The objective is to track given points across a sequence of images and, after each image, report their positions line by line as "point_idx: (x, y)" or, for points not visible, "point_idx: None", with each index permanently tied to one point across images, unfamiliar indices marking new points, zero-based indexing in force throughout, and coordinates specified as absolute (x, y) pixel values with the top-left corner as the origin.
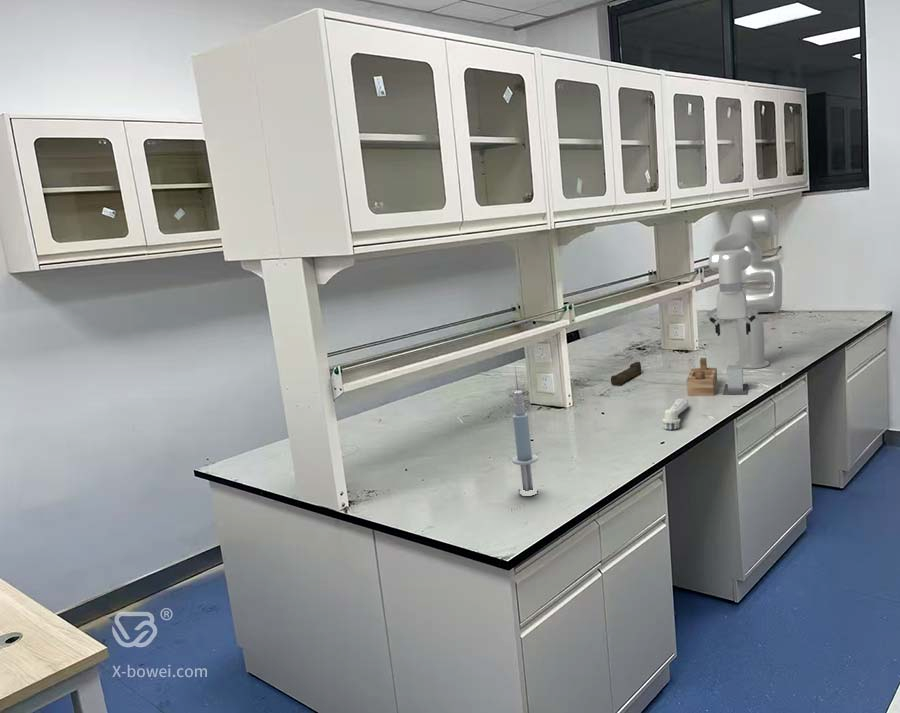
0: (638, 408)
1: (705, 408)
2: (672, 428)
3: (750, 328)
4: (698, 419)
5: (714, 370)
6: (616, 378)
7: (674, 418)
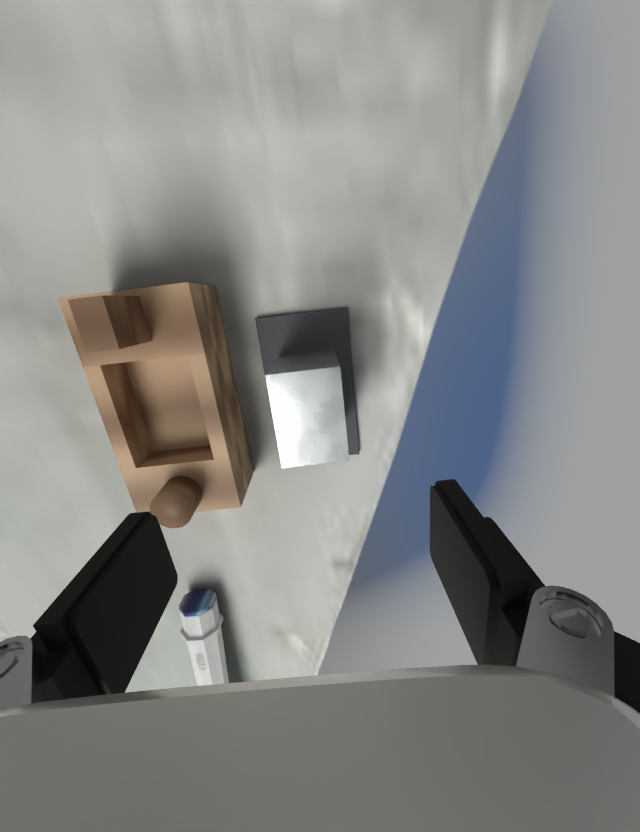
0: None
1: (265, 587)
2: None
3: (502, 535)
4: (272, 658)
5: (197, 350)
6: None
7: None
